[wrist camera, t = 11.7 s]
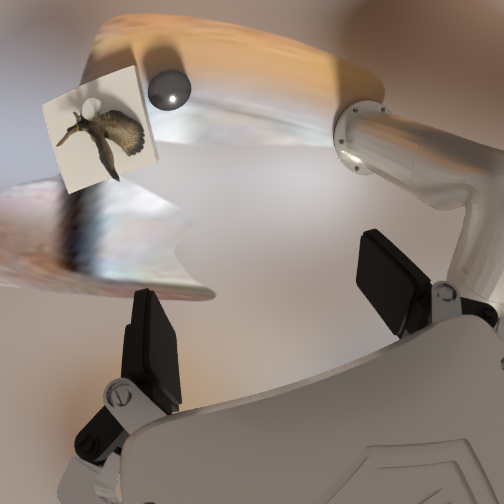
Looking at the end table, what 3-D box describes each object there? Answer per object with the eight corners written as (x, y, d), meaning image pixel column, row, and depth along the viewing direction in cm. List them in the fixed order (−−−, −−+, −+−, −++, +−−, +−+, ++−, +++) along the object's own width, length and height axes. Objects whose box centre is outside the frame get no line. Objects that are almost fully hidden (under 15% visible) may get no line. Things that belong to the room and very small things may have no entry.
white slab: (138, 67, 26) (134, 65, 24) (158, 157, 33) (156, 162, 31) (51, 103, 25) (41, 105, 22) (75, 186, 32) (68, 193, 30)
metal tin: (186, 68, 28) (187, 65, 25) (193, 103, 31) (194, 104, 28) (148, 78, 27) (144, 76, 24) (155, 113, 30) (152, 115, 27)
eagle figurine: (63, 158, 26) (118, 191, 29) (47, 134, 19) (112, 172, 22) (98, 110, 28) (152, 140, 30) (93, 80, 21) (156, 113, 24)
